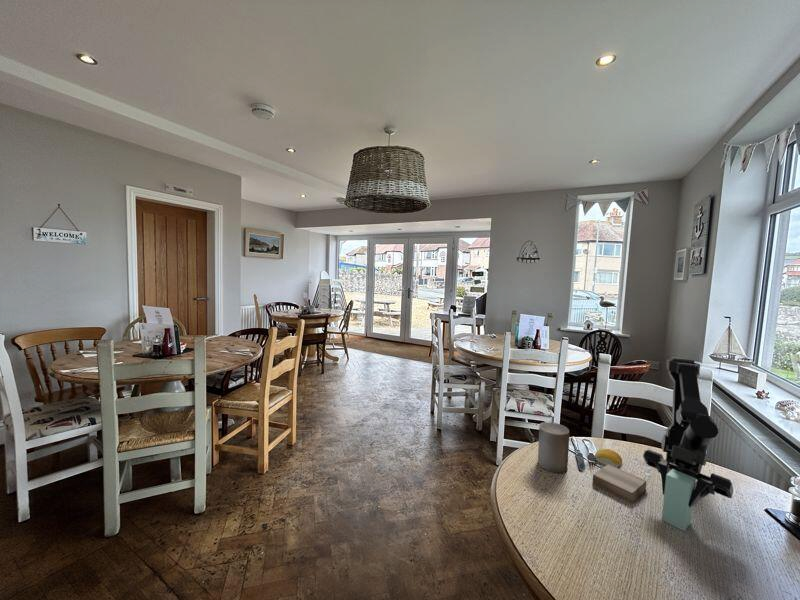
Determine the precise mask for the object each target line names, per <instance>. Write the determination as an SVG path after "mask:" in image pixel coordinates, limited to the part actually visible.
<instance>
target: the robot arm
mask: <svg viewBox="0 0 800 600" xmlns="http://www.w3.org/2000/svg"><path fill="white" fill-rule="evenodd" d="M665 364H666V365H665V366H666V370H668V371H667V372H668V373H667V374H668V375H669V377H670V378H671V380H672V382H673V387H672V388H673V389H672V390H673V391H672V412H671V413H672V415H671V417H672V418H671V424H669V426H668V427H667V428H666V429H665V434H663V436H662V439H661V444H660V445H661V449H662V452H663V453H666V456H665V459H664V457H663V454H662V453H659V452H656V451H654V450H651V449H647V450H646V449H645V451H644V452H643V454H642V457H643V459H644V462H645V464H646V465H647V466H648V467H652V468H654V469H656V470H657V473H659V474H660V477H661V486H662V487H661V488H662V490H661V491H662V495H663V496H664V492H665V482H666V474H667V473H669V472H670V471H671V470H672V469H674V470H677V471H679V472H682V473H684V474H687V475H689V476H692V477H694V478H696V479H695V481H696V483H695V488H694V491H693V493H692V496H691V498H690V501H689V507H692V508H693V506H695V504H696V503H698V502H699V501H700V500H701V499H702V498H704V497H706V496H708V495H709V494H710V495H715V493H716V494H718V495H720V496H722V497H725V498H727V499H732V498H733V494H734V486H733V483H732V481H731V480H730V479H729V478H726V477H724V476H722V475H718V474H716V473H711V474H710V476H709V475H706V474H702V473H701V472H702V469H703V466H706V465H707V459H708V454H707V453H708V448H709V446H710V445H711V444H712V443H713V441H714V440H715V439H716V437H717V436H718V434H719V428H718V426H717V423H715V420H714V419H713V418H712V416H711V415H710V414H709V411H708V407H707V406H706V405H705V404H704V403H703V402H701V396H700V395H701V394H700V388H699V382H698V376H699V375H700V371H701V364H700V363H698V362H695V359H693V358H685V357H678V356H677V357H676V356H671V357H670V359H666V363H665Z"/></svg>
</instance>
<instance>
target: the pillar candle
mask: <svg viewBox="0 0 800 600" xmlns="http://www.w3.org/2000/svg"><path fill="white" fill-rule="evenodd" d="M538 428H539V429H538V430H539V432H538V451H537V464H538V463H539V464H538V465H539V466H540V467H541V468H542V467H543V468H544V470H545V469H546V470H545V471H547V470H548V471H547V472H550V471H551V472H550V473H553V472H554V473H556V474H561V473H566V472H568V466H569V465H568V464H569V463H568V462H569V449H570V429H569V428H568V427H567V426H565V425H564V424H563V425H562V424H560V423H558V422H551V421H549V422H548V421H547V422H546V421H545V422H541V423H539V425H538ZM543 468H542V469H543Z"/></svg>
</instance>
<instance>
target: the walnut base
mask: <svg viewBox="0 0 800 600" xmlns="http://www.w3.org/2000/svg"><path fill="white" fill-rule="evenodd" d="M592 484H593V485H594V486H597V487H599V488H601V489H602V490H605V491H607V492H609V493H610V494H613V495H615V496H617V497H619V498H621V499H623V500H625V501H627V502H629V503H633V502H634V501H635V500H636V499H638V497H640V496H641V495H642V494H643V493H644V492H645V491H646V490H647V489H646V488H647V480H646V479H644V478H642V477H639V476H638V475H635V474H632V473H630V472H627V471H625V470H622V469H621V468H619V467H614V466H612V465H609V464H608V465H606V466H605V465H604V466H603V467H602V468H601V469H598V471H596V472H594V473H593V474H592Z"/></svg>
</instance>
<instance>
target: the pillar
mask: <svg viewBox="0 0 800 600" xmlns="http://www.w3.org/2000/svg"><path fill="white" fill-rule="evenodd" d="M695 487H696V478H694V477H692V476H689V475H687V474H684V473H682V472H679V471H677V470H674V469H672V470H671V471H669V473H667V474H666V482H665V492H664V495H663V502H662V503H663V505H662V513H661V520H662V521H664V522H666V523H668V524H670V525H672V526H674V527H676V528H678V529H680V530H682V531H684V532H685V531H686V530H687V529H688V528H689V527H690V525H691V524H692V521H691V520H692V514H693V506H692V507H689V501H690V498H691V496H692V493H693V491H694V489H695Z"/></svg>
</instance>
